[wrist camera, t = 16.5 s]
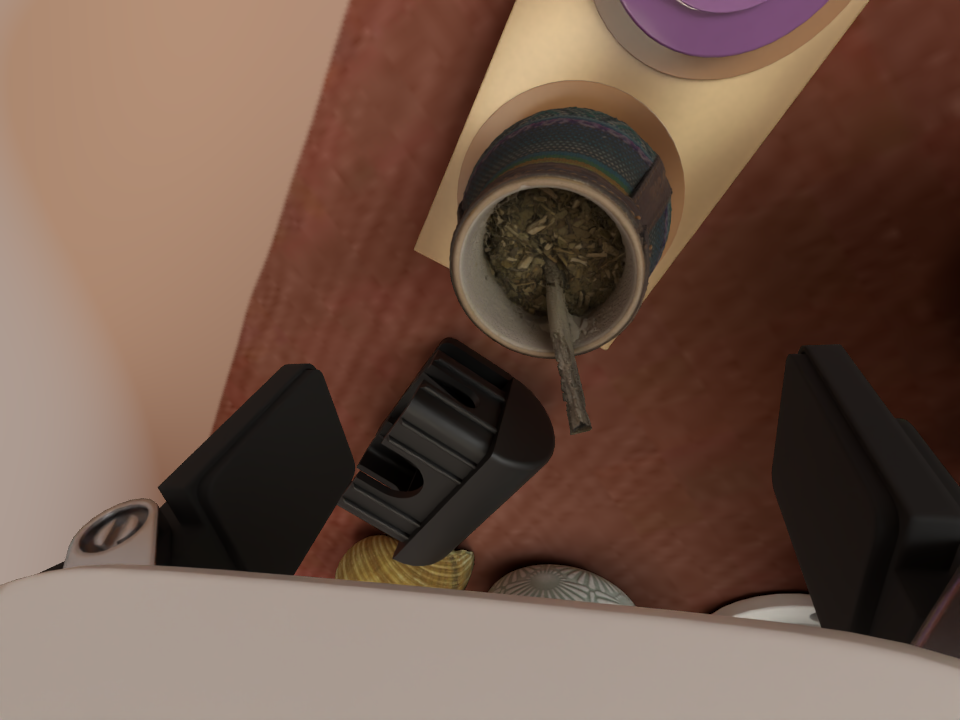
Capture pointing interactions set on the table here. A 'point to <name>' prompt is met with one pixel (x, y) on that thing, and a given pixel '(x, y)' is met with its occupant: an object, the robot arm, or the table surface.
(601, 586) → the planter
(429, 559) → the end cap
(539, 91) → the serving board
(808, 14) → the plum plate
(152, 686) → the robot arm
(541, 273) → the mate gourd
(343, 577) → the seashell
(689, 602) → the table surface
